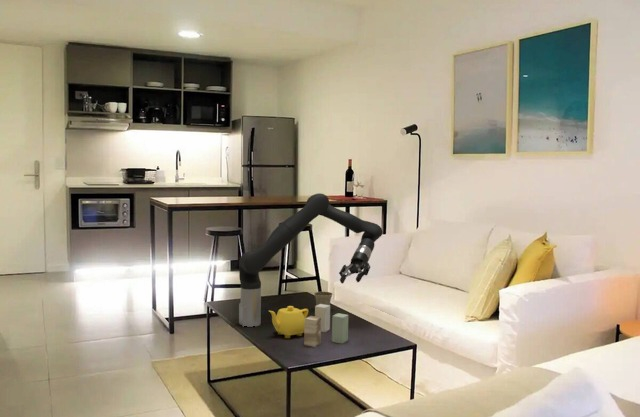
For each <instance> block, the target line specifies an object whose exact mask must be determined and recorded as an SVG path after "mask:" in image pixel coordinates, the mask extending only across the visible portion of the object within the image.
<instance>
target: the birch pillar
mask: <svg viewBox="0 0 640 417" xmlns="http://www.w3.org/2000/svg"><path fill="white" fill-rule="evenodd" d="M303 337H304V338H303V339H304V340H303V341H304V342H303V344H304V346H307V347H313V348H316V347H318V346H320V345H321V342H322V340H321V339H322V332H321V317H315V315H309V316H307V317H306V318H305V329H304V335H303Z"/></svg>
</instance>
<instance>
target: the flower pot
mask: <svg viewBox="0 0 640 417" xmlns="http://www.w3.org/2000/svg"><path fill="white" fill-rule="evenodd" d="M313 294H314V298H315V304H316V305H315V306H317V305H319V304H324V305H330V306H331V299H332V296H333V292H331V291H330V292H329V291H315V292H314V293H313Z"/></svg>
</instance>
